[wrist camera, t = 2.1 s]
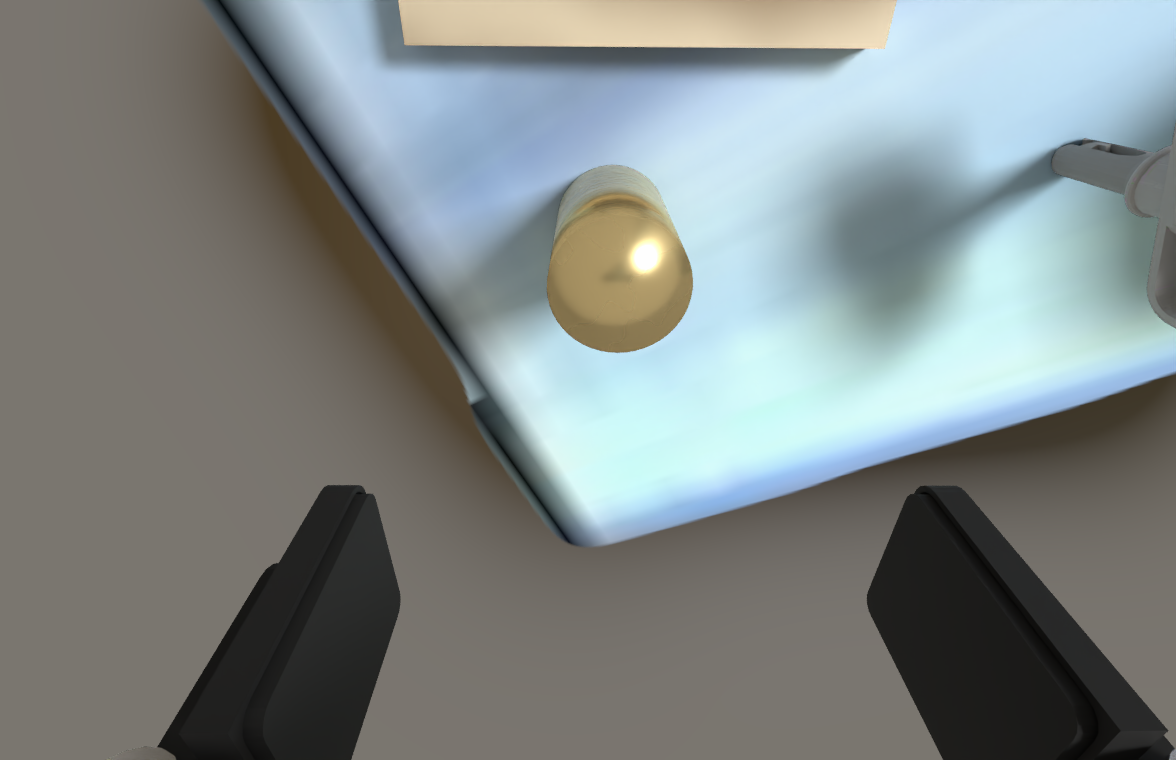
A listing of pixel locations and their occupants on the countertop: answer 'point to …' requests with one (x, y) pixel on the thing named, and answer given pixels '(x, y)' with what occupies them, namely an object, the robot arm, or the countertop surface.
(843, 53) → the countertop surface
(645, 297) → the tan cylinder
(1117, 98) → the countertop surface
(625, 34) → the jig plate
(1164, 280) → the mechanical component
